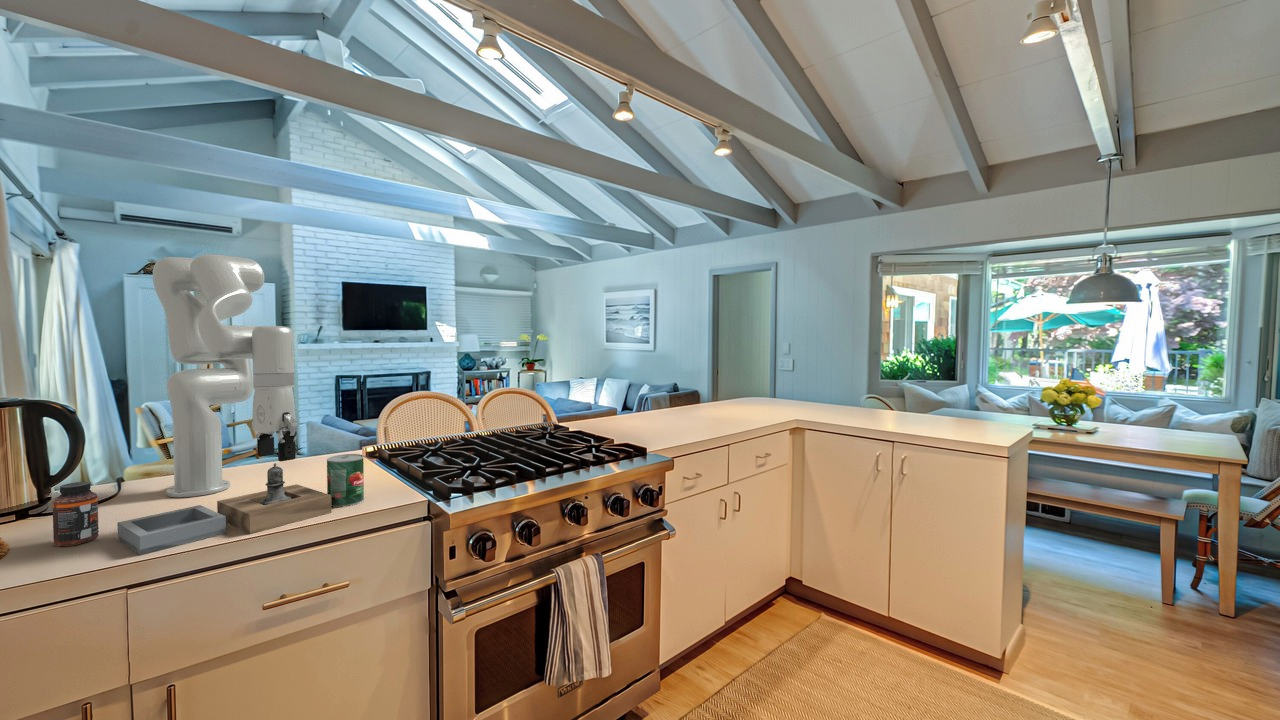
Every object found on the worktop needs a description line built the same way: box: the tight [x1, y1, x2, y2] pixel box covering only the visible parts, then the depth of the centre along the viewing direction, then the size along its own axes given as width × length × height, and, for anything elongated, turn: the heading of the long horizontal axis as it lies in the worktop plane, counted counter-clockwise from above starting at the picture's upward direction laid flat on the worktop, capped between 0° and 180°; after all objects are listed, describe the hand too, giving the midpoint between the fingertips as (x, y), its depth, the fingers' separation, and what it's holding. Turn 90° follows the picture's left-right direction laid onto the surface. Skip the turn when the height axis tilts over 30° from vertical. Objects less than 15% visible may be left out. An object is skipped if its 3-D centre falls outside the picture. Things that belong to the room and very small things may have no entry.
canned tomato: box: [326, 453, 365, 508], centre depth 126 cm, size 8×8×11 cm
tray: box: [116, 504, 227, 556], centre depth 103 cm, size 13×13×4 cm
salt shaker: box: [259, 462, 291, 505], centre depth 116 cm, size 6×6×12 cm
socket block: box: [216, 484, 332, 535], centre depth 116 cm, size 16×16×4 cm
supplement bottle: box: [52, 481, 99, 547], centre depth 100 cm, size 6×6×11 cm
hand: (276, 457), depth 116 cm, fingers open, 9 cm apart
